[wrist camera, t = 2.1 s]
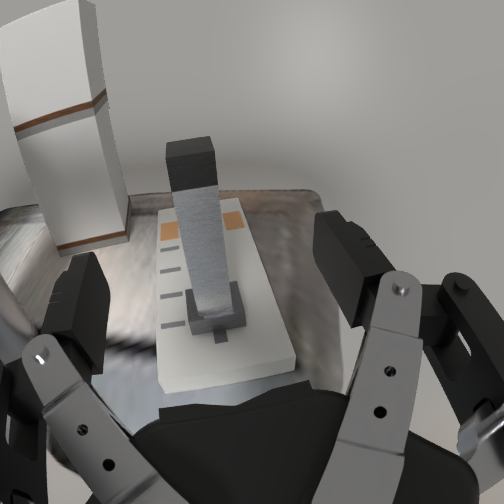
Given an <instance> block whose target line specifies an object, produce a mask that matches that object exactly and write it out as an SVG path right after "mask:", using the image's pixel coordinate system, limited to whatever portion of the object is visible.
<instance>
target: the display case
mask: <svg viewBox="0 0 504 504" xmlns="http://www.w3.org/2000/svg"><path fill="white" fill-rule="evenodd" d="M0 67H1V72H2V79H3V84H4V89H5V94H6V98H7V102H8V107H9V111H10V115H11V119H12V123H13V127H14V131H15V135H16V138H17V142H18V145H19V148H20V152H21V155H22V158H23V161H24V164H25V167H26V170H27V174H28V176H29V179H30V182H31V185H32V188H33V191H34V193H35V196H36V198H37V201H38V204H39V207H40V209H41V212H42V214H43V217H44V219H45V221H46V224H47V226H48V229H49V231H50V233H51V236H52V238H53V240H54V242H55V245H56V247H57V249H58V251H59V253H60V256H61V257H62V256H66V255H70V254H75V253H79V252H84V251H88V250H92V249H97V248H101V247H106V246H111V245H115V244H120V243H125V242H128V241H129V229H130V218H131V209H132V205H131V201H130V198H129V196H128V195H127V191H126V187H125V183H124V179H123V175H122V171H121V167H120V163H119V159H118V154H117V150H116V145H115V141H114V136H113V131H112V126H111V122H110V117H109V111H108V109H109V103H108V99H107V92H106V86H105V80H104V74H103V68H102V61H101V54H100V46H99V38H98V29H97V20H96V9H95V5H94V4H93V3H90V2H88V1H86V0H66V1H63V2H60V3H57V4H54V5H51V6H49V7H46V8H44V9H41V10H38V11H36V12H33V13H31V14H29V15H26V16H24V17H22V18H19V19H17V20H15V21H13V22H11V23H9V24H7V25H4V26H2V27H0Z"/></svg>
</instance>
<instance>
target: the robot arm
mask: <svg viewBox="0 0 504 504" xmlns="http://www.w3.org/2000/svg"><path fill="white" fill-rule="evenodd" d="M313 255H314V259H315V262H316V264H317V266H318V268H319V270H320V271H321V273H322V275H323V277H324V279H325V280H326V282H327V284H328V286H329V288H330V290H331V291H332V293H333V295H334V297H335V299H336V301H337V302H338V304H339V306H340V308H341V310H342V312H343V314H344V316H345V317H346V319H347V321H348V323H349V325H350V327H351V328H355V327H358V326H363V327H364V329H365V333H364V336H363V339H362V343H361V347H360V350H359V354H358V357H357V360H356V364H355V367H354V370H353V374H352V377H351V380H350V383H349V386H348V388H347V391H346V394H345V395H344V394H341V393H337V392H334V391H328V390H319V389H312V387H311V385H310V382H309V380H307V381H303V382H299V383H295V384H291V385H287V386H283V387H279V388H275V389H271V390H269V391H267V392H265V393H263V394H261V395H259V396H257V397H255V398H253V399H250V400H248V401H246V402H244V403H242V404H239V405H236V406H223V405H207V404H189V405H182V406H175V407H167V408H159V418H160V419H157V420H155V421H153V422H151V423H149V424H147V425H146V426H144V427H143V428H141V429H140V430H139V431H138V432H136V433H135V434H134V435H133V433H132V432H131V431H130V430H129V429H128V428H127V427H126V426H125V425H124V424H123V423H122V422H121V420H120V419H119V418H118V417H117V416H116V415H115V413H114V412H113V411H112V410H111V408H110V407H109V406H108V405H107V403H106V402H105V401H104V400H103V398H102V397H101V396H100V394H99V393H98V392H97V391H96V389H95V388H94V387H93V385H92V384H91V377H92V375H97V374H103V363H104V351H105V341H106V331H107V322H108V314H109V307H110V289H109V285H108V283H107V280H106V278H105V276H104V274H103V271H102V269H101V267H100V264H99V262H98V260H97V257H96V255H95V254H94V252H88V253H83V254H78V255H74V256H73V257H72V260H71V263H70V266H69V269H68V271H64V272H63V273H62V274H61V275H60V277H59V278H58V279H57V281H56V282H55V285H54V289H53V292H52V295H51V298H50V301H49V302H50V304H49V305H48V308H47V312H46V315H45V319H44V322H43V326H42V330H41V333H40V335H39V333H38V331H37V329H36V328H35V326H34V325H33V323H32V322H31V320H30V319H29V318H28V316H27V315H26V313H25V312H24V310H23V309H22V307H21V305H20V304H19V302H18V301H17V299H16V298H15V296H14V295H13V293H12V291H11V290H10V288H9V287H8V285H7V283H6V282H5V280H4V278H3V277H2V275H1V273H0V504H48V493H47V475H46V474H47V472H46V432H47V424H48V426H49V428H50V429H51V431H52V433H53V434H54V436H55V438H56V439H57V441H58V443H59V444H60V446H61V447H62V449H63V451H64V452H65V454H66V455H67V457H68V458H69V460H70V461H71V463H72V464H73V466H74V467H75V469H76V470H77V472H78V473H79V474H80V476H81V477H82V479H83V480H84V481H85V483H86V484H87V485H88V487H89V488H90V489H91V491H92V492H93V494H92V495H91V496H90V498H89V499H88V501H87V502H86V504H479V495H480V494H481V493H483V492H484V491H486V490H487V489H489V488H490V487H492V486H493V485H495V484H496V483H497V482H499V481H500V480H502V479H503V478H504V321H503V320H502V318H501V317H500V315H499V314H498V313H497V311H496V310H495V308H494V307H493V306H492V304H491V303H490V302H489V300H488V299H487V297H486V296H485V295H484V293H483V292H482V291H481V290H480V288H479V287H478V286H477V284H476V283H475V282H474V281H473V280H472V279H471V278H469V277H468V276H466V275H464V274H461V273H456V272H455V273H449V274H447V275H446V276H445V277H444V279H443V281H442V284H441V285H426V284H420V282H419V281H418V279H416V278H415V277H414V276H413V275H411V274H409V273H407V272H403V271H396V269H395V268H394V267H393V265H392V264H391V263H390V262H389V260H388V259H387V258H386V257H385V255H384V254H383V253H382V251H381V250H380V249H379V248H378V246H376V244H375V243H374V241H373V240H372V239H370V236H369V235H368V234H367V233H366V231H365V230H364V229H363V228H362V227H360V226H358V225H357V224H355V223H353V222H352V221H350V222H346V220H345V219H344V218H343V217H342V215H341V214H340V213H339V212H338V211H337V210H333V211H327V212H320V213H316V215H315V222H314V237H313ZM459 331H460V332H461V334H462V336H463V337H464V339H465V341H466V342H467V344H468V346H469V347H470V350H471V356H470V354H469V353H468V351H467V349H466V348H465V346H464V344H463V343H462V341H461V339H460V338H459V336H458V332H459ZM422 349H423V351H424V353H425V354H426V356H427V358H428V360H429V362H430V364H431V366H432V367H433V370H434V372H435V374H436V376H437V378H438V379H439V381H440V383H441V385H442V387H443V390H444V392H445V394H446V396H447V398H448V400H449V402H450V404H451V406H452V408H453V410H454V412H455V415H456V417H457V419H458V421H459V423H460V429H459V431H458V443H457V450H458V452H459V453H460V456H458V455H456V454H454V453H452V452H450V451H448V450H446V449H444V448H442V447H440V446H438V445H436V444H434V443H432V442H430V441H428V440H426V439H424V438H422V437H421V436H419V435H417V434H415V433H413V432H411V431H410V430H409V426H410V421H411V417H412V411H413V406H414V401H415V396H416V390H417V384H418V378H419V371H420V364H421V357H422ZM7 414H8V415H9V416H10V417H11V421H10V432H9V445H8V444H7V441H6V437H5V432H6V421H7Z"/></svg>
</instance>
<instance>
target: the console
mask: <svg viewBox="0 0 504 504" xmlns="http://www.w3.org/2000/svg"><path fill="white" fill-rule="evenodd" d="M220 208H221V217H222V225H223V234H224V243H225V251H226V259H227V268H228V276H229V282H232V281H237V283H238V287H239V290H240V294H241V298H242V302H243V305H244V309H245V315H246V326H244V327H239V328H233V329H228V330H222V331H217V332H211V333H205V334H199V335H193V336H192V333H191V330H190V326H189V323H188V316H187V305H186V295H185V290H186V289H192V285H191V281H190V277H189V272H188V268H187V263H186V259H185V254H184V250H183V245H182V241H181V236H180V231H179V226H178V222H177V217H176V212H175V207H174V208H169V209H163V210H158V226H157V253H156V341H157V367H158V382H159V383H160V385H161V387H162V388H163V390H164V392H165V394H169V393H177V392H184V391H191V390H198V389H204V388H210V387H216V386H222V385H228V384H233V383H239V382H244V381H249V380H254V379H259V378H263V377H268V376H273V375H277V374H282V373H286V372H290V371H294V369H295V361H296V355H295V352H294V349H293V346H292V344H291V341H290V338H289V335H288V333H287V330H286V327H285V324H284V322H283V319H282V316H281V313H280V311H279V308H278V305H277V303H276V300H275V297H274V294H273V292H272V289H271V286H270V283H269V281H268V278H267V275H266V273H265V270H264V267H263V264H262V262H261V259H260V256H259V253H258V251H257V248H256V245H255V243H254V240H253V237H252V234H251V232H250V229H249V226H248V224H247V221H246V218H245V215H244V213H243V210H242V207H241V205H240V202H239V199H238V197H237V198H230V199H224V200H220Z"/></svg>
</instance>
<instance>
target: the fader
mask: <svg viewBox="0 0 504 504" xmlns="http://www.w3.org/2000/svg"><path fill="white" fill-rule="evenodd" d="M166 164H167V169H168V175H169V180H170V186H171V191H172V196H173V201H174V207H175V212H176V217H177V222H178V226H179V231H180V236H181V241H182V245H183V250H184V254H185V259H186V263H187V268H188V272H189V277H190V281H191V285H192V289H186V290H185V295H186V305H187V316H188V323H189V326H190V330H191V333H192V336H193V335H199V334H205V333H211V332H217V331H222V330H228V329H233V328H239V327H244V326H246V315H245V309H244V305H243V302H242V298H241V294H240V290H239V287H238V283H237V281H232V282H229V276H228V268H227V259H226V251H225V243H224V234H223V225H222V217H221V208H220V199H219V190H218V180H217V171H216V161H215V151H214V148H213V145H212V142H211V138H210V136H206V137H199V138H193V139H186V140H180V141H174V142H168V143H167V145H166Z"/></svg>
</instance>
